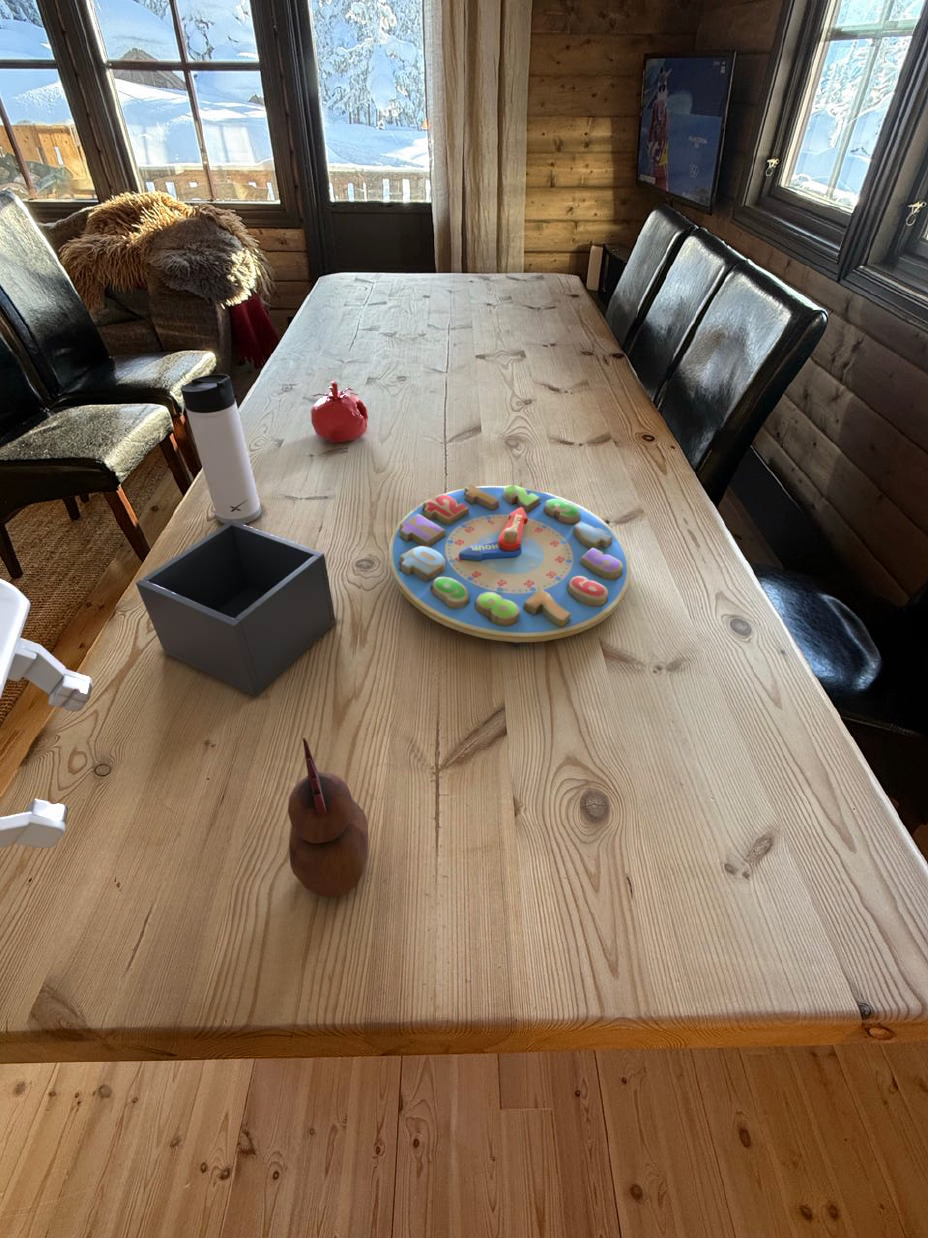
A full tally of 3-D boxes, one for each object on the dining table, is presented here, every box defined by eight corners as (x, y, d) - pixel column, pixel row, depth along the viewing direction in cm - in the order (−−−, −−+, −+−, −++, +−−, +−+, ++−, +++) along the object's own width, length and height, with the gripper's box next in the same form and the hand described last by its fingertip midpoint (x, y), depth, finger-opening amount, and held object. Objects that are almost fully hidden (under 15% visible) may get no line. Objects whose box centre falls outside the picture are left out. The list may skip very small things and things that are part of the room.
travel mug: (248, 529, 93) (212, 390, 79) (208, 521, 94) (167, 383, 81) (271, 507, 97) (241, 372, 84) (233, 500, 99) (198, 366, 86)
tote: (255, 697, 69) (233, 625, 62) (164, 653, 74) (135, 582, 67) (336, 622, 78) (324, 553, 71) (249, 587, 83) (231, 519, 76)
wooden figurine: (310, 832, 57) (278, 719, 47) (376, 834, 57) (358, 721, 47) (292, 910, 52) (252, 801, 42) (365, 912, 52) (342, 803, 42)
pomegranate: (325, 453, 110) (317, 399, 104) (304, 430, 116) (296, 378, 110) (379, 440, 114) (374, 387, 108) (356, 418, 120) (350, 367, 114)
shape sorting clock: (527, 693, 69) (531, 652, 65) (341, 575, 85) (335, 536, 81) (673, 565, 86) (683, 526, 82) (495, 486, 102) (497, 450, 98)
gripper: (-394, 837, 20) (74, 900, 29) (-138, 501, 35) (122, 608, 43) (-443, 940, 22) (8, 970, 31) (-181, 581, 37) (75, 669, 46)
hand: (75, 756), depth 37 cm, fingers open, 8 cm apart
